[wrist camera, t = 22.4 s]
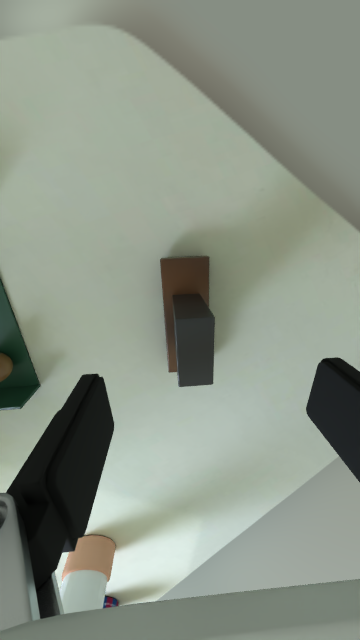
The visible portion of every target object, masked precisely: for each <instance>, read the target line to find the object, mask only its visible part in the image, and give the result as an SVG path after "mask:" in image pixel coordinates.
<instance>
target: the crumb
mask: <svg viewBox="0 0 360 640" xmlns="http://www.w3.org/2000/svg"><path fill="white" fill-rule="evenodd" d="M12 369H13V362H12V360H11V358H10V357H9V356H7V355H6V354H4V353H1V352H0V382H1V381H3V380H5V379H6V378H7V377H8V376H9V375H10V374H11V372H12Z"/></svg>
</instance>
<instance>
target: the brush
mask: <svg viewBox="0 0 360 640" xmlns="http://www.w3.org/2000/svg"><path fill="white" fill-rule="evenodd" d="M160 263H161V276H162V289H163V303H164V316H165V329H166V343H167V356H168V369H169V372H177V375H178V386H179V387H185V386H198V385H211V384H213V367H214V325H215V317H214V315H213V314H212V312H211V311H210V309H209V257H208V256H190V257H170V258H161V259H160Z"/></svg>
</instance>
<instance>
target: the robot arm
mask: <svg viewBox="0 0 360 640" xmlns="http://www.w3.org/2000/svg"><path fill="white" fill-rule="evenodd" d="M306 411H307V414H308V416H309V418H310V419H311V420H312V421H313V423H314V424H315V425H316V427H317V428H318V429H319V430H320V432H321V433H322V434H323V436H324V437H325V438H326V439H327V441H328V442H329V443H330V445H331V446H332V447H333V448H334V450H335V451H336V452H337V454H338V455H339V456H340V457H341V459H342V460H343V461H344V463H345V464H346V465H347V466H348V468H349V469H350V470H351V472H352V473H353V474H354V475H355V477H356V478H357V479H358V481H359V482H360V372H359V371H358V370H356V369H355V368H354V367H352V366H351V365H349V364H348V363H347V362H345V361H344V360H342V359H341V358H325V359H323V360H322V361H321V362H320V363H319V364H318V367H317V370H316V374H315V378H314V381H313V385H312V389H311V392H310V396H309V400H308V403H307V407H306ZM113 431H114V421H113V417H112V412H111V408H110V404H109V400H108V395H107V391H106V387H105V383H104V379H103V377H99V375H98V374H86V375H82V376H81V378H80V380H79V381H78V383H77V384H76V386H75V388H74V389H73V391H72V393H71V394H70V396H69V397H68V399H67V401H66V402H65V404H64V406H63V407H62V409H61V410H59V411H58V412H57V413H56V414H55V416H54V417H53V419H52V421H51V422H50V424H49V425H48V427H47V428H46V430H45V432H44V433H43V435H42V436H41V438H40V440H39V441H38V443H37V444H36V446H35V447H34V449H33V451H32V452H31V454H30V455H29V457H28V459H27V460H26V462H25V463H24V465H23V467H22V468H21V470H20V471H19V473H18V474H17V476H16V478H15V479H14V481H13V482H12V484H11V486H10V487H9V489H8V490H7V492H6V493H0V640H360V579H356V580H347V581H337V582H327V583H318V584H308V585H299V586H290V587H281V588H271V589H263V590H253V591H244V592H235V593H226V594H218V595H208V596H200V597H191V598H182V599H174V600H164V601H155V602H147V603H138V604H131V605H124V606H117V607H109V608H102V609H95V610H88V611H81V612H73V613H67V614H64V610H63V606H62V601H61V597H60V593H59V589H58V584H57V580H56V576H55V570H56V569H57V566H58V563H59V560H60V557H61V554H62V553H63V552H73V551H75V548H76V545H77V542H78V538H82V537H83V536H84V534H85V531H86V528H87V524H88V521H89V517H90V514H91V510H92V507H93V503H94V499H95V496H96V492H97V489H98V485H99V481H100V478H101V474H102V471H103V467H104V464H105V460H106V456H107V453H108V449H109V446H110V442H111V438H112V435H113Z"/></svg>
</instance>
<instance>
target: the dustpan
mask: <svg viewBox="0 0 360 640" xmlns="http://www.w3.org/2000/svg"><path fill="white" fill-rule="evenodd" d="M0 352H1V353H4V354H6V355H7V356H9V357H10V358H11V360H12V362H13V369H12V372H11V374H10V375H9V376H8V377H7V378H6V379H5V380H3V381H1V382H0V410H11V409H21V408H22V407H23V406H24V404H25V403H26V402H27V401H28V400H29V399H30V398H31V396H32V395H33V394H34V393H35V392H36V391H37V390H38V388H39V387H40V384H39V381H38V378H37V376H36V373H35V370H34V368H33V365H32V362H31V359H30V357H29V354H28V351H27V349H26V346H25V343H24V341H23V338H22V335H21V333H20V330H19V327H18V324H17V322H16V319H15V316H14V314H13V311H12V308H11V306H10V303H9V300H8V298H7V295H6V292H5V289H4V287H3V284H2V281H1V279H0Z"/></svg>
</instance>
